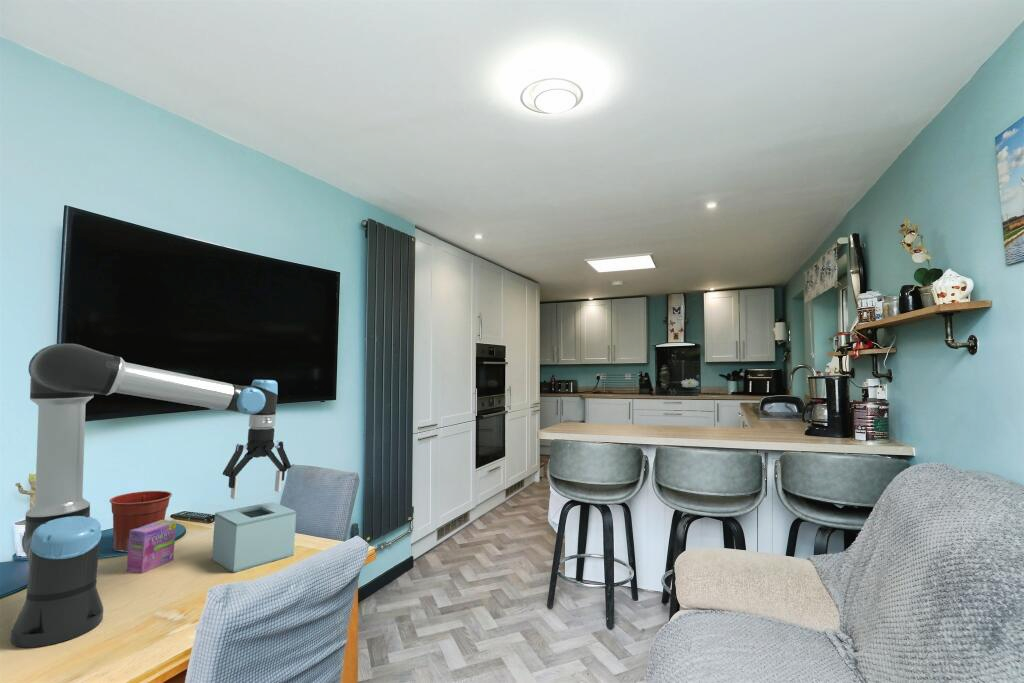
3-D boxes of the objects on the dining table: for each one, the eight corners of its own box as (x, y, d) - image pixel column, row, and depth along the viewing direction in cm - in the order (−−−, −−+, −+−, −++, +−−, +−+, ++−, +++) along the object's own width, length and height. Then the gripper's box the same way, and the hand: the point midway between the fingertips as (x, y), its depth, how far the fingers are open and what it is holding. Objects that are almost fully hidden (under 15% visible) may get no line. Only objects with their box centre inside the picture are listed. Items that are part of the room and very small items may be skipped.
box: (141, 573, 137) (145, 531, 138) (125, 571, 138) (129, 529, 139) (174, 560, 147) (177, 521, 148) (158, 558, 148) (161, 519, 149)
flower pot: (170, 534, 168) (174, 488, 169) (166, 550, 154) (170, 499, 155) (110, 542, 160) (114, 493, 161) (100, 559, 146) (104, 505, 147)
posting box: (233, 572, 139) (236, 524, 140) (211, 558, 149) (215, 512, 150) (293, 555, 154) (296, 511, 154) (270, 543, 163) (272, 501, 164)
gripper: (224, 431, 142) (218, 504, 140) (304, 426, 161) (299, 490, 160) (214, 428, 147) (208, 499, 145) (293, 424, 166) (288, 486, 165)
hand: (256, 494), depth 152 cm, fingers open, 13 cm apart
